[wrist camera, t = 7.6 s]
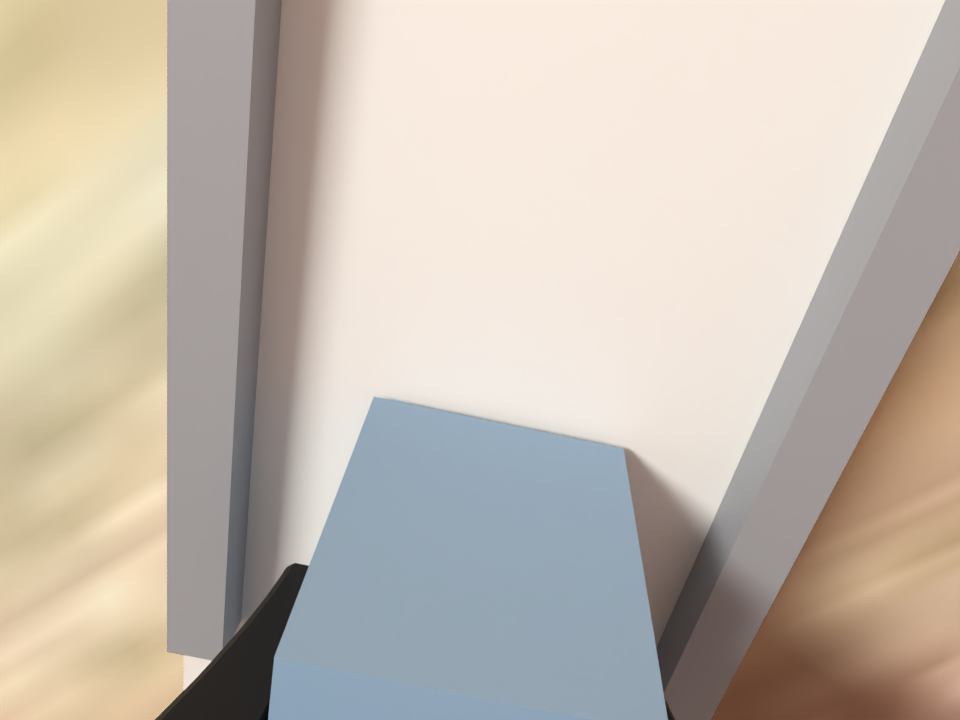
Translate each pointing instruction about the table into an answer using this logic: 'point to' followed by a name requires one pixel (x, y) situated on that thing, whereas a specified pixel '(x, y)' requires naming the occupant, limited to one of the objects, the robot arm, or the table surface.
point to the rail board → (548, 268)
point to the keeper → (472, 581)
